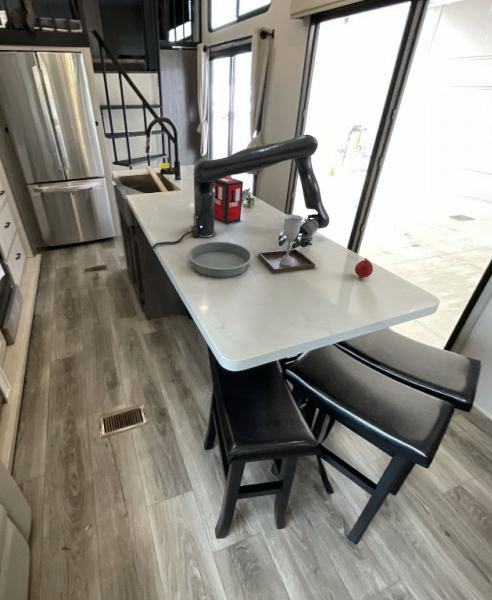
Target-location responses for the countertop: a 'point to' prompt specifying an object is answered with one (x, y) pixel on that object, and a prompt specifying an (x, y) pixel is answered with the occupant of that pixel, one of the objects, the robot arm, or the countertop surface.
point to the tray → (275, 266)
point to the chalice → (290, 234)
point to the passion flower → (245, 197)
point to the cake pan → (219, 258)
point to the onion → (364, 268)
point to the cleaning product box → (228, 200)
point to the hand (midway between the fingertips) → (286, 245)
